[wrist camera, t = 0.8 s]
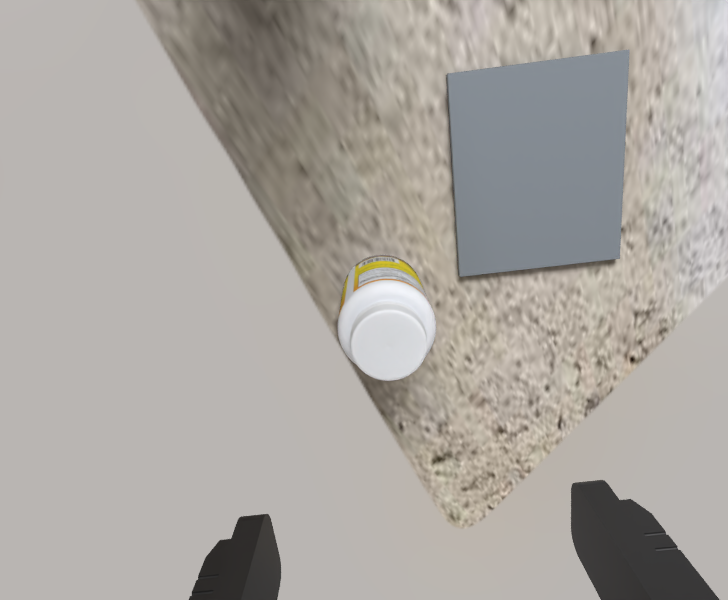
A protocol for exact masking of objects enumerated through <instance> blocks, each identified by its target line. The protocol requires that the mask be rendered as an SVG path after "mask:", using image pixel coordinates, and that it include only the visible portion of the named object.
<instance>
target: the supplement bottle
mask: <svg viewBox="0 0 728 600" xmlns="http://www.w3.org/2000/svg"><path fill="white" fill-rule="evenodd" d="M435 334H436V320H435V316H434V312H433V309H432V307H431V305H430V303H429V300H428V298H427V296H426V294H425V291H424V289H423V287H422V285H421V282H420V280H419V278H418V276H417V274H416V272H415V271H414V270H413V268H412V267H411V266H410V265H409V264H407V263H406V262H405V261H403V260H401V259H399V258H397V257H394V256H390V255H374V256H371V257H368V258H365V259H363V260H362V261H360V262H359V263H357V264H356V265H355V266H354V267H353V268H352V269H351V271H350V272H349V274H348V275H347V278H346V280H345V283H344V287H343V294H342V299H341V306H340V312H339V318H338V337H339V341H340V344H341V346H342V348H343V350H344V352H345V353H346V355H347V356H348V357H349V359H350V360H351V361H352V362H354V363H355V364H356V365H357V366H358V367H359V368H360V369H361V370H362V371H363V372H364V373H365V374H367V375H369V376H370V377H373V378H375V379H378V380H384V381H394V380H399V379H402V378H405V377H407V376H409V375H410V374H412V373H413V372H415V371H416V370H417V369H418V368H419V366H420V365H421V364H422V362H423V360H424V358H425V356H426V355H427V354H428V352H429V351H430V349H431V347H432V345H433V342H434V339H435Z"/></svg>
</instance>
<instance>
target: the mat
mask: <svg viewBox="0 0 728 600" xmlns="http://www.w3.org/2000/svg"><path fill="white" fill-rule="evenodd" d="M628 70H629V50H623V51H615V52H608V53H600V54H593V55H585V56H578V57H570V58H562V59H555V60H547V61H540V62H532V63H525V64H517V65H510V66H502V67H494V68H487V69H479V70H472V71H464V72H457V73H449V74H447V75H446V76H447V93H448V109H449V125H450V142H451V158H452V175H453V191H454V208H455V224H456V241H457V257H458V274H459V276H460V277H462V276H471V275H480V274H489V273H497V272H506V271H515V270H524V269H532V268H541V267H550V266H559V265H568V264H576V263H585V262H594V261H603V260H611V259H620V241H621V220H622V198H623V177H624V155H625V134H626V113H627V91H628Z"/></svg>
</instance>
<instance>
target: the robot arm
mask: <svg viewBox="0 0 728 600" xmlns="http://www.w3.org/2000/svg"><path fill="white" fill-rule="evenodd" d="M571 532H572V539H573V543H574V546H575V549H576V552H577V554H578V557H579V559H580V561H581V562H582V564H583V566H584V568H585V570H586V572H587V574H588V576H589V578H590V580H591V582H592V583H593V585H594V587H595V589H596V591H597V593H598V595H599V597H600V599H601V600H719V599H718V597H717V596H716V595H715V594H714V592H713V591H712V590H711V589H710V587H709V586H708V585H707V583H706V582H705V581H704V580H703V578H702V577H701V576H700V574H699V573H698V572H697V571H696V569H695V568H694V567H693V566H692V564H691V563H690V562H689V561H688V559H687V558H686V557H685V556H684V554H683V553H682V552H681V550H678V548H677V545H676V544H675V543H674V542H673V540H672V539H671V538H670V537H669V535H666V532H665V530H664V529H663V528H662V526H661V525H660V524H659V523H658V521H657V520H656V519H655V518H654V516H653V515H652V514H651V513H650V512H648V511H647V510H646V509H644V508H643V507H641V506H640V505H638V504H637V503H636V502H634V501H633V500H631V499H628V500H619V499H618V497H617V496H616V495H615V493H614V492H613V491H612V489H611V488H610V486H609V485H608V484H607V483H606V482H605V481H603V480H597V481H587V482H578V483H573V484H572V488H571ZM280 580H281V562H280V557H279V552H278V548H277V543H276V539H275V535H274V531H273V526H272V522H271V518H270V516H269V515H268V514H263V515H253V516H243V517H240V518H239V519H238V522H237V524H236V527H235V530H234V532H233V535H232V538H231V539H227V540H220V541H219V542H218V543H217V544H216V546H215V547H214V548H213V549H212V550H211V552H210V553H209V554H208V555H207V557H206V558H205V561H204V563H203V566H202V568H201V571H200V573H199V576H198V580H197V581H196V583H195V586H194V588H193V591H192V596H190V598H189V600H277V597H278V592H279V587H280Z"/></svg>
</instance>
